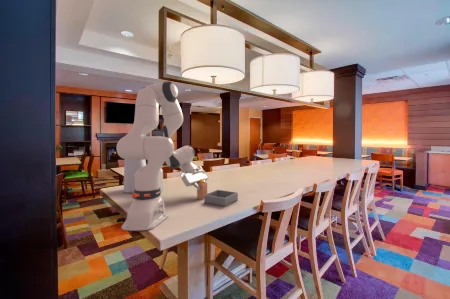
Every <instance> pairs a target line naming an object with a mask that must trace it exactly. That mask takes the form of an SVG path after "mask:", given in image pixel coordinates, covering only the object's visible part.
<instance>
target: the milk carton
mask: <svg viewBox="0 0 450 299" xmlns="http://www.w3.org/2000/svg"><path fill="white" fill-rule="evenodd" d="M159 187H160V190H161V193H163V192H164V170H163V168H161V170H160V177H159Z"/></svg>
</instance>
